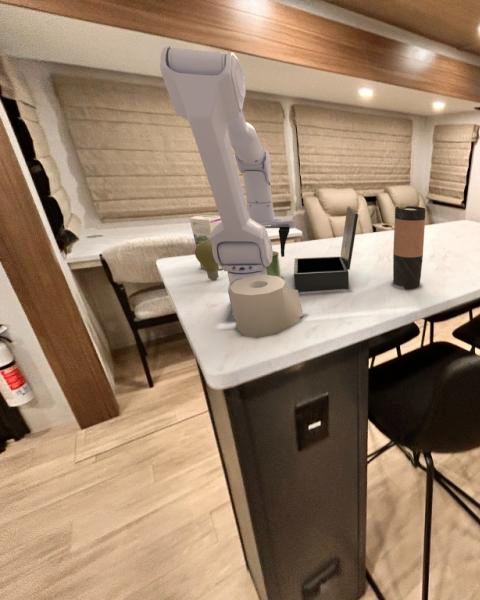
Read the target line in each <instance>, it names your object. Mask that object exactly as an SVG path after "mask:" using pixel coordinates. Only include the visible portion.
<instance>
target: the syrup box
mask: <svg viewBox="0 0 480 600" xmlns="http://www.w3.org/2000/svg"><path fill="white" fill-rule="evenodd" d="M221 222H222V221H221V218H220V215H206V214H201V215H199V214H198V215H194V216H192V217H189V223H190V227H191V230H192V235H193V239H194V243H195V248H196V247H197V246H198V245H199V244H200V243H203V242H211V240H210V237H211V233H212V231H213V229H214V228H215V227H216V226H217V225H218V224H220V223H221ZM199 265H200V268H201V269H204V267H203V266H202V264H201V263H200V262H199ZM218 270H223V267H220V266H219V265H218Z"/></svg>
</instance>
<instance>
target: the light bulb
mask: <svg viewBox="0 0 480 600" xmlns="http://www.w3.org/2000/svg"><path fill="white" fill-rule="evenodd" d="M194 255H195V256H194V257H195V258H196V260H197V261H198V262H199V264H200V263H201V264H202V266H203V267H204V268H203V269H204V271H205V272H206V274H207V278H208V279H210V280H211V281H216V280H217V279H219V277H220V275H219V271H218V264H217V263H216V261H215V259H214V256H213V251H212V244H211V242H203V243H200V244H199V245H198V246H197V247H196V246H195V249H194Z"/></svg>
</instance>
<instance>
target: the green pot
mask: <svg viewBox="0 0 480 600" xmlns="http://www.w3.org/2000/svg"><path fill="white" fill-rule="evenodd" d="M272 251H273V257H272V262H271V264H270V265H269V266H266V271H267V275H271V276H278V277H280V278H282V277H281V276H282V272H281V264H280V257H279V256H280V255H279V252H278V251H275V250H272Z"/></svg>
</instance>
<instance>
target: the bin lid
mask: <svg viewBox="0 0 480 600" xmlns="http://www.w3.org/2000/svg"><path fill="white" fill-rule="evenodd" d="M358 218H359V213H358V212H356V211H355V210H354V209H353V208H352V207H351V206H350V205H349V206H348V205H347V207H346V213H345V221H344V226H343V227H344V228H343V234H342V241H341V248H340V249H341V250H340V257H342V259H343V262H344V264H345V266H346V268H347V270H348V271H350V270H351V263H352V257H353V251H354V244H355V238H356V233H357V232H356V231H357V225H358Z"/></svg>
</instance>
